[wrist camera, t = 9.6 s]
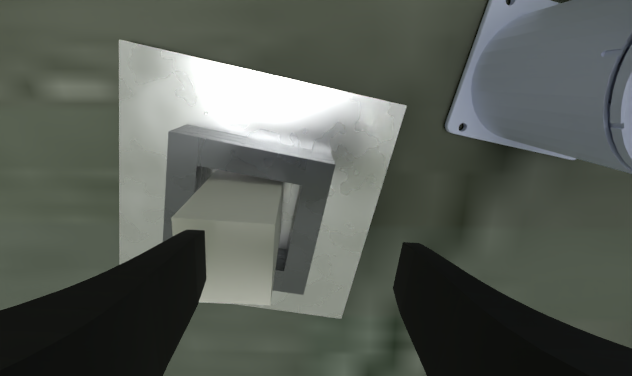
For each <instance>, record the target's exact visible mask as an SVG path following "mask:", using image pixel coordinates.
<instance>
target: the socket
mask: <svg viewBox="0 0 632 376" xmlns="http://www.w3.org/2000/svg"><path fill="white" fill-rule="evenodd" d="M406 107H407V106H406V105H402V104H397V103H393V102H389V101H384V100H380V99H376V98H371V97H367V96H363V95H358V94H354V93H350V92H345V91H341V90H336V89H332V88H328V87H323V86H319V85H315V84H310V83H306V82H302V81H297V80H293V79H289V78H284V77H280V76H276V75H271V74H267V73H263V72H258V71H254V70H250V69H245V68H241V67H236V66H232V65H228V64H223V63H219V62H215V61H210V60H206V59H202V58H197V57H193V56H189V55H184V54H180V53H176V52H171V51H167V50H163V49H158V48H154V47H150V46H145V45H141V44H137V43H132V42H128V41H123V40H119V247H120V264H122V263H124V262H126V261H128V260H130V259H132V258H134V257H136V256H138V255H140V254H142V253H144V252H146V251H147V250H149V249H151V248H153V247H155V246H157V245H158V244H160V243H162V242H164V241H166V240H167V239H169V238H171V237H173V234H172V221H171V218H172V216H173V215H174V214H175V213H176V212H177V211H178V210H179V209H180V208H181V207H182V206H183V205H184V204H185V203H186V202H187V201H188V200H189V199H190V198H191V196H192V195H193V194H194V193H195V192H196V191H197V190H198V189H199V188H200V187H201V186H202V185H203V184H204V183H205V182H206V181H207V180H208V179H209V178H210V177H211V175H212V174H213V173H214V172H215V171H216V170H222V171H228V172H233V173H238V174H244V175H249V176H254V177H260V178H265V179H270V180H276V181H281V182H284V186H283V202H282V217H281V232H280V239H279V246H278V254H277V261H276V268H275V276H274V283H273V291H272V298H271V305H249V304H237V305H244V306H252V307H259V308H266V309H274V310H281V311H288V312H296V313H303V314H310V315H318V316H325V317H332V318H339V319H341V318H342V315H343V312H344V308H345V305H346V302H347V299H348V295H349V292H350V289H351V286H352V282H353V279H354V276H355V273H356V269H357V266H358V263H359V260H360V256H361V253H362V250H363V247H364V243H365V240H366V237H367V234H368V230H369V227H370V224H371V221H372V217H373V214H374V211H375V208H376V204H377V201H378V198H379V194H380V191H381V188H382V185H383V181H384V178H385V175H386V172H387V168H388V165H389V162H390V159H391V155H392V152H393V149H394V146H395V142H396V139H397V136H398V133H399V129H400V126H401V123H402V120H403V116H404V113H405V110H406Z"/></svg>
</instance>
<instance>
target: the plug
mask: <svg viewBox="0 0 632 376" xmlns="http://www.w3.org/2000/svg"><path fill="white" fill-rule="evenodd" d="M283 186H284V182H281V181H276V180H270V179H265V178H260V177H254V176H249V175H244V174H238V173H233V172H228V171H222V170H216V171H215V172H214V173H213V174H212V175H211V177H210V178H209V179H208V180H207V181H206V182H205V183H204V184H203V185H202V186H201V187H200V188H199V189H198V190H197V191H196V192H195V193H194V194H193V195H192V196H191V198H190V199H189V200H188V201H187V202H186V203H185V204H184V205H183V206H182V207H181V208H180V209H179V210H178V211H177V212H176V213H175V214H174V215H173V216H172V218H171V221H172V234H173V236H175V235H176V234H178V233H180V232H182V231H185V230H187V229H188V230H205V252H206V282H205V285H204V288H203V291H202V294H201V297H200V300H199V302H203V303H226V304H249V305H271V298H272V291H273V283H274V276H275V268H276V261H277V254H278V246H279V239H280V232H281V217H282V202H283Z"/></svg>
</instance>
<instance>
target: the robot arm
mask: <svg viewBox="0 0 632 376" xmlns="http://www.w3.org/2000/svg"><path fill="white" fill-rule="evenodd" d="M462 123H463V125H464V127H463V129H462V130H460V131H459V125H460V124H462ZM445 129H446V131H447V132H449V133H452V134H457V135H461V136H466V137H470V138H475V139H479V140H484V141H488V142H493V143H497V144H502V145H506V146H511V147H515V148H520V149H524V150H529V151H533V152H538V153H542V154H547V155H551V156H556V157H560V158H565V159H569V160H575V159H580V160H584V161H587V162H591V163H594V164H598V165H601V166H605V167H609V168H612V169H616V170H619V171H623V172H627V173H630V174H632V0H571V1H567V2H564V3H558V2H554V1H551V0H511V2H510V4H509V5H507V4H506V0H489V2H488V4H487V7H486V10H485V13H484V16H483V18H482V21H481V24H480V27H479V30H478V33H477V35H476V38H475V41H474V44H473V47H472V49H471V52H470V55H469V58H468V61H467V63H466V66H465V69H464V72H463V75H462V78H461V80H460V83H459V86H458V89H457V92H456V94H455V97H454V100H453V103H452V106H451V108H450V111H449V114H448V117H447V120H446V123H445ZM205 282H206V252H205V230H188V229H187V230H185V231H182V232H180V233H178V234H176V235H175V236H173V237H171V238H169V239H167V240H166V241H164V242H162V243H160V244H158V245H157V246H155V247H153V248H151V249H149V250H147V251H146V252H144V253H142V254H140V255H138V256H136V257H134V258H132V259H130V260H128V261H126V262H124V263H122V264H120V265H118V266H116V267H114V268H112V269H110V270H108V271H106V272H104V273H101V274H99V275H97V276H95V277H92V278H90V279H88V280H85V281H83V282H80V283H78V284H75V285H73V286H70V287H68V288H65V289H63V290H60V291H57V292H54V293H51V294H48V295H46V296H43V297H40V298H37V299H34V300H31V301H28V302H25V303H22V304H20V305H17V306H13V307H10V308H7V309H4V310H0V376H163V374H164V372H165V370H166V368H167V365H168V363H169V361H170V359H171V357H172V355H173V353H174V351H175V349H176V347H177V345H178V344H179V342H180V340H181V338H182V336H183V334H184V332H185V330H186V328H187V326H188V324H189V322H190V320H191V317H192V315H193V313H194V311H195V309H196V307H197V305H198V303H199V300H200V297H201V294H202V291H203V288H204V285H205ZM393 290H394V294H395V298H396V301H397V305H398V308H399V311H400V314H401V317H402V319H403V322H404V324H405V326H406V329H407V331H408V333H409V335H410V338H411V340H412V342H413V345H414V347H415V349H416V351H417V354H418V356H419V358H420V361H421V363H422V365H423V367H424V370H425V372H426V375H427V376H632V349H631V348H628V347H626V346H623V345H620V344H617V343H614V342H612V341H609V340H606V339H603V338H601V337H598V336H595V335H593V334H590V333H588V332H585V331H583V330H580V329H577V328H575V327H573V326H570V325H568V324H566V323H563V322H561V321H559V320H556V319H554V318H552V317H549V316H547V315H545V314H543V313H540V312H538V311H536V310H534V309H532V308H530V307H528V306H526V305H524V304H522V303H520V302H518V301H516V300H514V299H512V298H510V297H508V296H506V295H504V294H502V293H501V292H499V291H497V290H495V289H494V288H492V287H490V286H488V285H487V284H485V283H483V282H481V281H480V280H478V279H476V278H475V277H473V276H471V275H470V274H468V273H467V272H465V271H463V270H462V269H460V268H459V267H457V266H456V265H454V264H453V263H451V262H449V261H448V260H446V259H445V258H443V257H442V256H440V255H439V254H437V253H435V252H434V251H432V250H431V249H429V248H427V247H425V246H424V245H422V244H419V243H406V242H403V245H402V249H401V254H400V258H399V263H398V268H397V272H396V277H395V281H394V286H393Z"/></svg>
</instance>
